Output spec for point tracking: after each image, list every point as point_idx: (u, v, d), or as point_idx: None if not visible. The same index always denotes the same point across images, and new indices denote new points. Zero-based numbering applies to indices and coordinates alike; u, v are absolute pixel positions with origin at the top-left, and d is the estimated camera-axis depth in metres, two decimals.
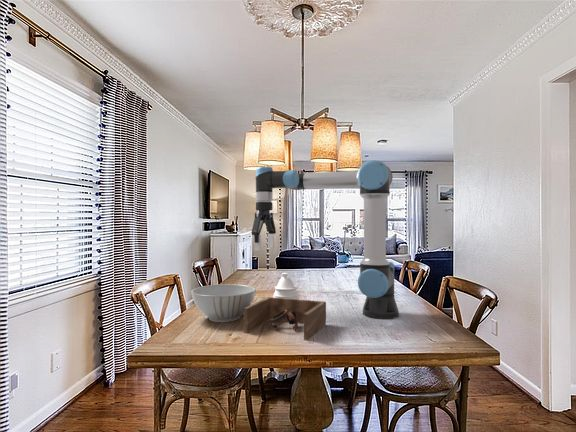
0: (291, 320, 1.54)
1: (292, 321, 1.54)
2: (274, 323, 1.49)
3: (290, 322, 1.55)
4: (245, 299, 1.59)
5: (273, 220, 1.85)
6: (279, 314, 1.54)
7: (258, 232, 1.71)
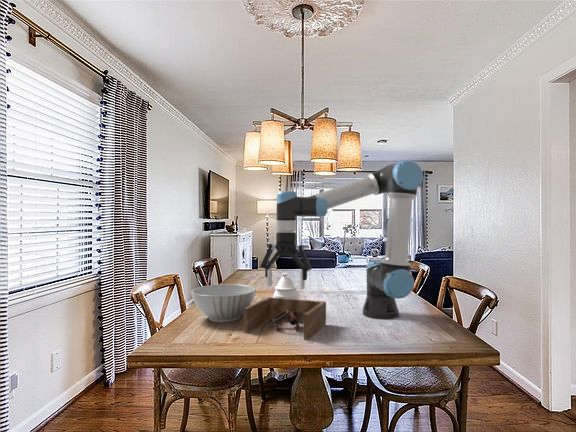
0: (292, 320, 1.54)
1: (293, 321, 1.54)
2: (276, 323, 1.48)
3: (291, 322, 1.54)
4: (245, 299, 1.59)
5: (303, 255, 1.48)
6: (280, 314, 1.54)
7: (265, 266, 1.54)
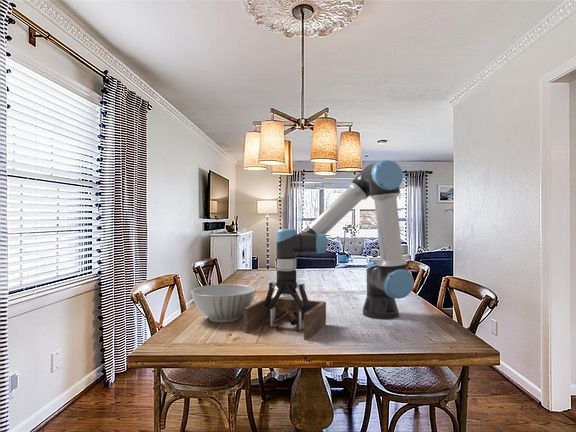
0: (293, 321, 1.54)
1: (294, 322, 1.53)
2: (276, 324, 1.48)
3: (292, 323, 1.54)
4: (245, 299, 1.59)
5: (303, 294, 1.49)
6: (280, 315, 1.53)
7: (268, 305, 1.54)
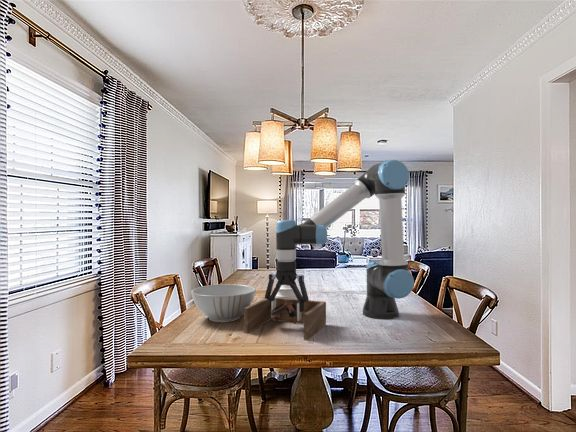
0: (291, 312, 1.54)
1: (292, 313, 1.54)
2: (274, 315, 1.48)
3: (290, 315, 1.54)
4: (245, 299, 1.59)
5: (302, 286, 1.48)
6: (279, 306, 1.54)
7: (269, 297, 1.54)
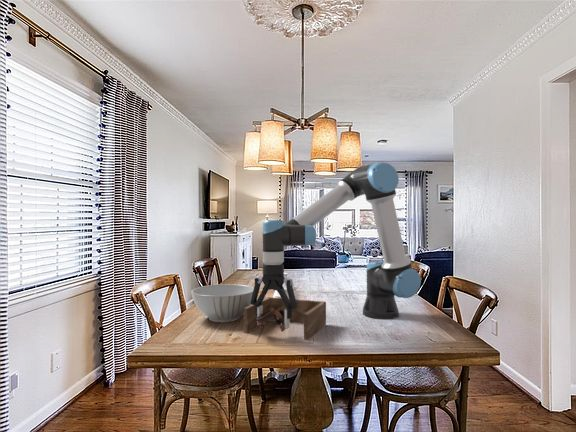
0: (279, 319, 1.43)
1: (280, 320, 1.43)
2: (259, 323, 1.37)
3: (278, 321, 1.43)
4: (245, 299, 1.59)
5: (289, 291, 1.38)
6: (266, 313, 1.43)
7: (255, 303, 1.43)
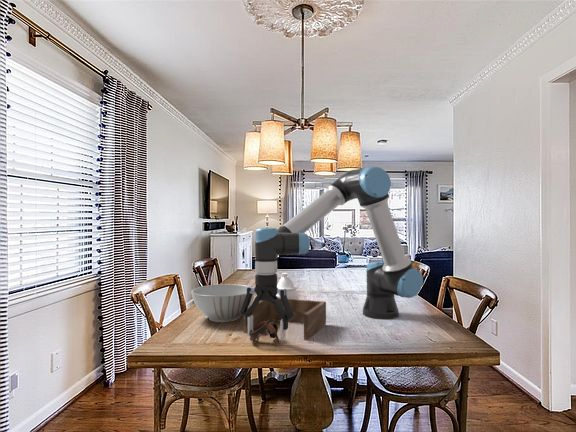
0: (272, 333, 1.37)
1: (273, 334, 1.37)
2: (252, 337, 1.32)
3: (271, 335, 1.38)
4: None
5: (284, 301, 1.32)
6: (258, 326, 1.37)
7: (245, 313, 1.37)
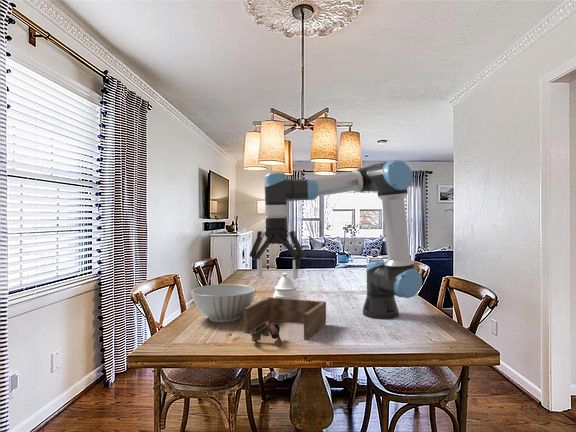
0: (274, 334, 1.37)
1: (275, 335, 1.37)
2: (254, 338, 1.31)
3: (273, 336, 1.37)
4: (245, 299, 1.59)
5: (295, 241, 1.36)
6: (260, 327, 1.36)
7: (254, 255, 1.42)
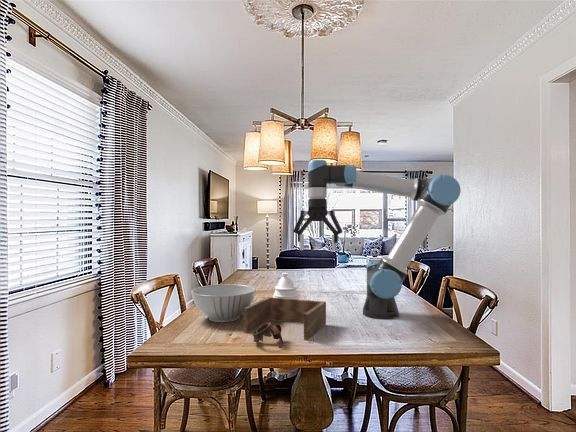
0: (276, 334, 1.36)
1: (277, 335, 1.36)
2: (256, 338, 1.30)
3: (274, 336, 1.36)
4: (245, 299, 1.59)
5: (334, 219, 1.58)
6: (262, 328, 1.36)
7: (298, 231, 1.64)
